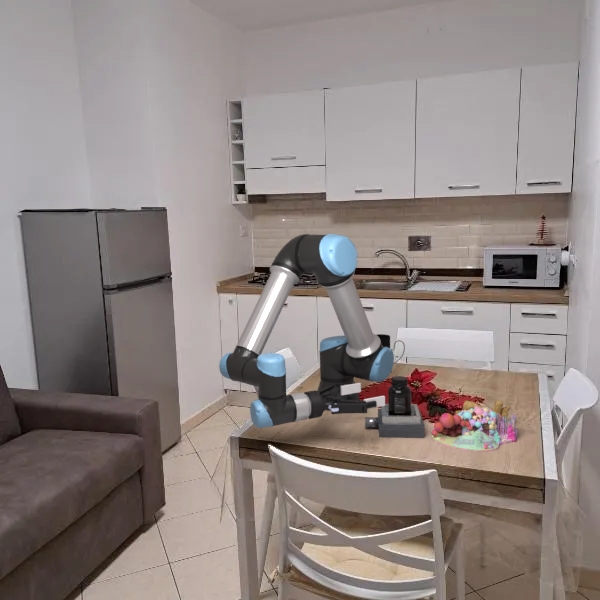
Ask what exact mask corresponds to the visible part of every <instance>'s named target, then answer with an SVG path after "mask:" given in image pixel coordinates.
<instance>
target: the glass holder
mask: <svg viewBox="0 0 600 600" xmlns="http://www.w3.org/2000/svg"><path fill="white" fill-rule="evenodd" d="M376 335H377V336H378V337H379V338H380V340H381V343H382V346H383V347H388V348H390V349H391V335H389V334H385V333H384V334H383V333H380V334H379V333H378V334H376ZM397 342H400V343H402V344H403V345H402V346H403V351H402V354H401V356H400V357H399V358H398V359H397V360H396V361H394V363H393V365H395V364H396V363H398V362H399V360H401V359H402V358H403V356H404V354H405V350H406V346H405V345H406V344H405V342H404V341H402V340H401V339H400V340H396V341H395V342H394V343H393V349H391V350H392V351H395V347H396V344H397ZM390 374H392V370H391V373H390Z"/></svg>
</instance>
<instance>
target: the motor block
mask: <svg viewBox="0 0 600 600" xmlns="http://www.w3.org/2000/svg"><path fill="white" fill-rule="evenodd" d="M424 422H425V421H424V420H423V415H422V413H421V410H420V408H419V406H418V404H417V403H415V404H414V403H411V416H396V415H389V412H388V403H385V406H381V407H380V408H377V417H376V416H375V417H374V416H373V417H370V416H369V417H368V416H366V417H364V428H376V429H377V428H378V429H377V430H378V437H379V438H395V439H396V438H402V439H425V423H424Z"/></svg>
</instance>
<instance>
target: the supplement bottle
mask: <svg viewBox="0 0 600 600" xmlns="http://www.w3.org/2000/svg"><path fill="white" fill-rule="evenodd" d="M408 381H409V378H408V377H406V376H402V375H398V376H397V375H396V376H392V377H391V382H390V384H391V385H390V386H389V387H388V391H387V392H388V393H387V395H388V396H387V397H388V402H387V404H388V412H389V415H396V416H411V404H412V390H411V389H412V388H411V387H410V386H409V382H408Z"/></svg>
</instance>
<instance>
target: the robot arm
mask: <svg viewBox="0 0 600 600" xmlns="http://www.w3.org/2000/svg"><path fill="white" fill-rule="evenodd" d="M357 258H358V251H357V248H356V245H355V243H354V242H353V241H352V240H351V238H349V237H347V236H345V235H342V234H335V233H328V234H309V233H308V234H307V233H305V234H300V235H297V236H295V237H293V238H291V239H290V240H289V241H288V242H286V243H285V245H283V247H282V248H281V249H280V250H279V251H278V253H277V254H276V256H275V258H274V259H273V261H272V263H271V265H270V267H269V272H270V275H269V277H268V279H267V281H266V283H265V286H264V288H263V290H262V291H261V294H260V295H259V297H258V299H257V302H256V304H255V306H254V308H253V310H252V313H251V314H250V317H249V319H248V321H247V323H246V324H245V327H244V329H243V331H242V333H241V335H240V338H239V339H238V342H237V344H236V346H235V348H234V350H233V351H232V352H227V353H225V354H224V355H223V356H222V357H221V359H220V361H219V365H218V366H219V369H218V370H219V373H220V374H221V375H222V376H223V378H225V379H229V380H230V381H232V382H239V383H243V384H246V385H249V386H253V387H257V390H258V391H257V393H258V399H255V400H253V401H252V402H251V403H250V407H249V412H250V419H251V422H252V424H253V425H254V426H255V427H256V428H257V429H262V428H273V427H276V426H280V425H285V424H289V423H299V422H300V421H306V420H308V419H309V420H311V419H317V418H321V417H322V415H324V412H325V411H327V412H330V414H331V415H339V414H367V413H368V410H369V409H374V408H379V407H380V408H381V406H385V404H386V396H385V395H379V396H375V397H370V398H364V399H363V400H360V394H359V393H361V392H362V383H361V382H355V378H356V379H360V380H363V381H369V382H371V383H372V382H374V383H382V382H384V381H386V380H387V379H388V377H390V374H392V373H391V371H392V370H393V367H394V364H393V363H394V362H395V356H394V350H391V349H390V348H391V347H390V348H388V347H383V346H382V343H381V340H380V338H379V337H378V336H377V334H374V332H373V329H372V326H371V324H370V322H369V319H368V317H367V314H366V311H365V308H364V306H363V303H362V300H361V298H360V296H359V293H358V290H357V287H356V285H355V282H354V280H353V277H354V275H355V271H356V268H357V265H358V260H357ZM305 274H313V275H314V276H315V279H316V282H317V284H318V285H319V286H320V287H321V288H324V289H325V291H326V293H327V295H328V297H329V300H330V303H331V305H332V308H333V310H334V312H335V314H336V317H337V320H338V322H339V325H340V327H341V330H342V332H343V334H344V335H336V336H329V337H326V338H323V339H322V340H321V341H320V343H319V351H318V352H319V372H320V373H319V374H320V375H319V378H320V381H319V385H318V388H317V390H315V389H313V390H310V391H309V390H308V391H304V392H297V393H289V394H287V368H286V362H285V361H286V359H285V357H284V355H282V354H280V353H277V352H269V353H268V352H266V353H263V351H264V349H265V346H267V345H266V344H267V342H268V340H269V339H270V338H269V337H270V336H271V334H272V331H273V330H274V327H275V325H276V324H277V323H276V322H277V321H278V319H279V316H280V314H281V313H282V311H283V308H284V306H285V303H286V301H287V299H288V297H289V295H290V293H291V291H292V289H293V287H294V285H296V284H298V283H299V282H300V279H301V278H302V276H303V275H305Z"/></svg>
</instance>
